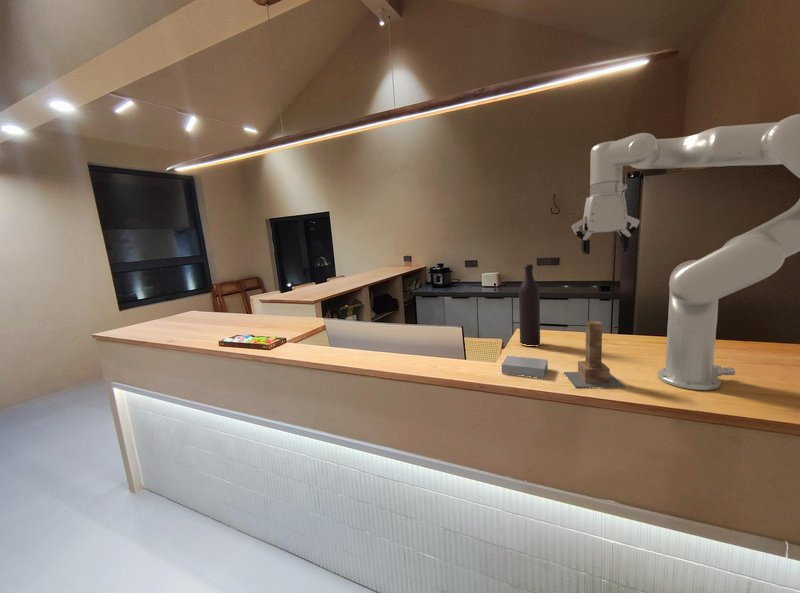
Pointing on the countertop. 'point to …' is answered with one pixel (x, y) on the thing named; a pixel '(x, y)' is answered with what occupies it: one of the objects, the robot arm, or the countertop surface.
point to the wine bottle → (529, 309)
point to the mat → (581, 384)
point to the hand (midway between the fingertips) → (604, 252)
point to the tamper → (593, 356)
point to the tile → (525, 366)
